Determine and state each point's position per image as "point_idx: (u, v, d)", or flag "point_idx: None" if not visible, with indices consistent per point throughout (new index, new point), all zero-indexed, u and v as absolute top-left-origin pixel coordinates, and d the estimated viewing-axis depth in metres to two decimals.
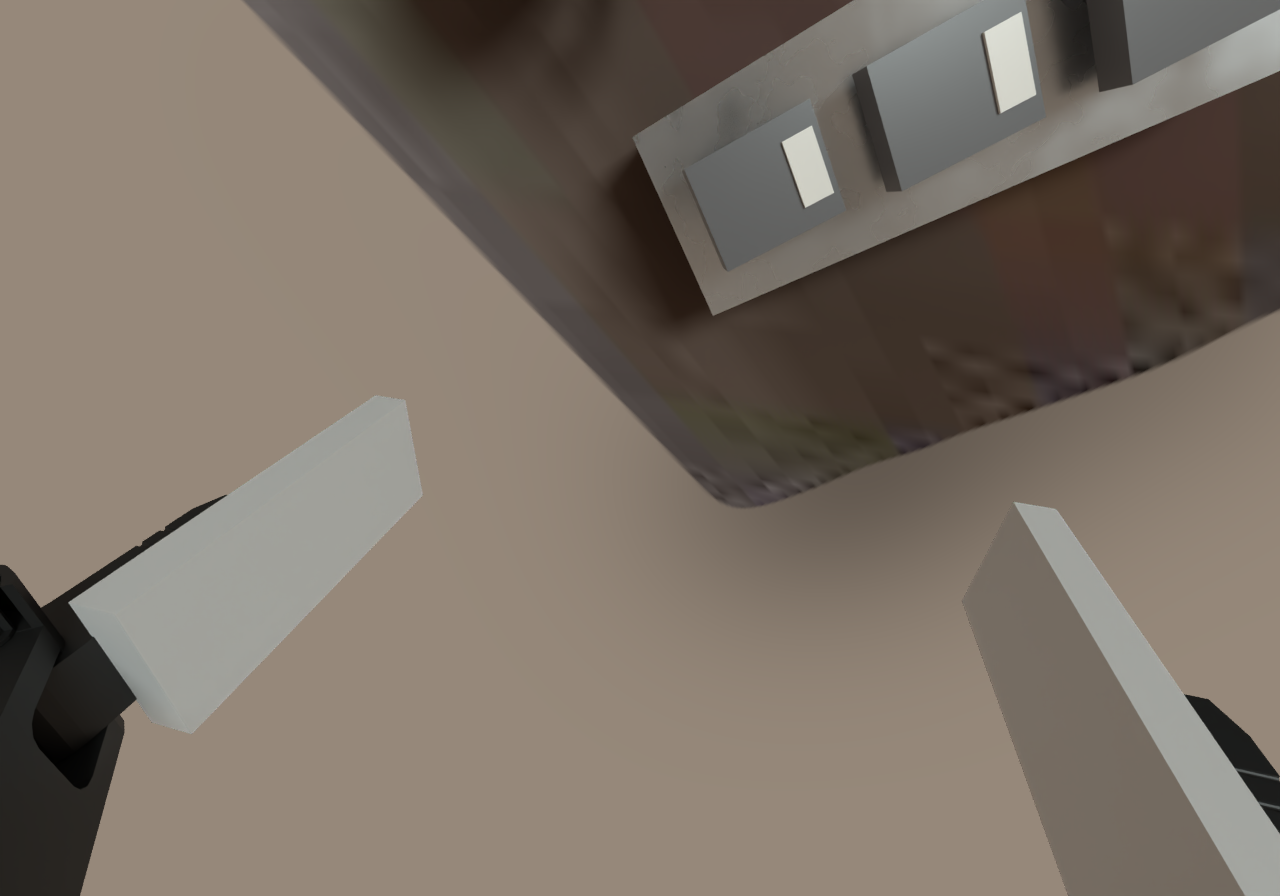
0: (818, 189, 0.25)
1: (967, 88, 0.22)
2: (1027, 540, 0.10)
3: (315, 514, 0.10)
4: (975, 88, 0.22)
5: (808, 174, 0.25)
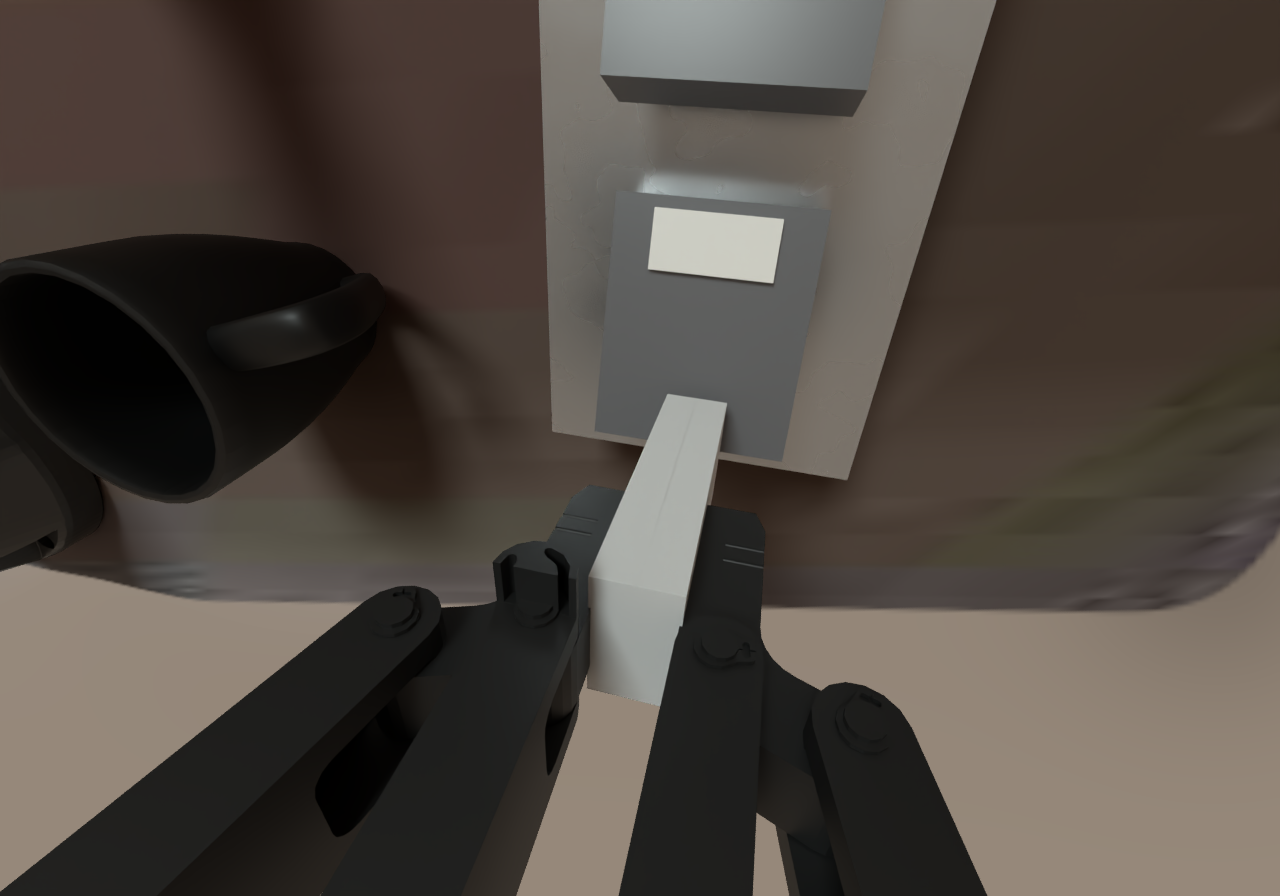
0: (759, 245, 0.13)
1: None
2: (690, 422, 0.13)
3: None
4: None
5: (724, 250, 0.13)
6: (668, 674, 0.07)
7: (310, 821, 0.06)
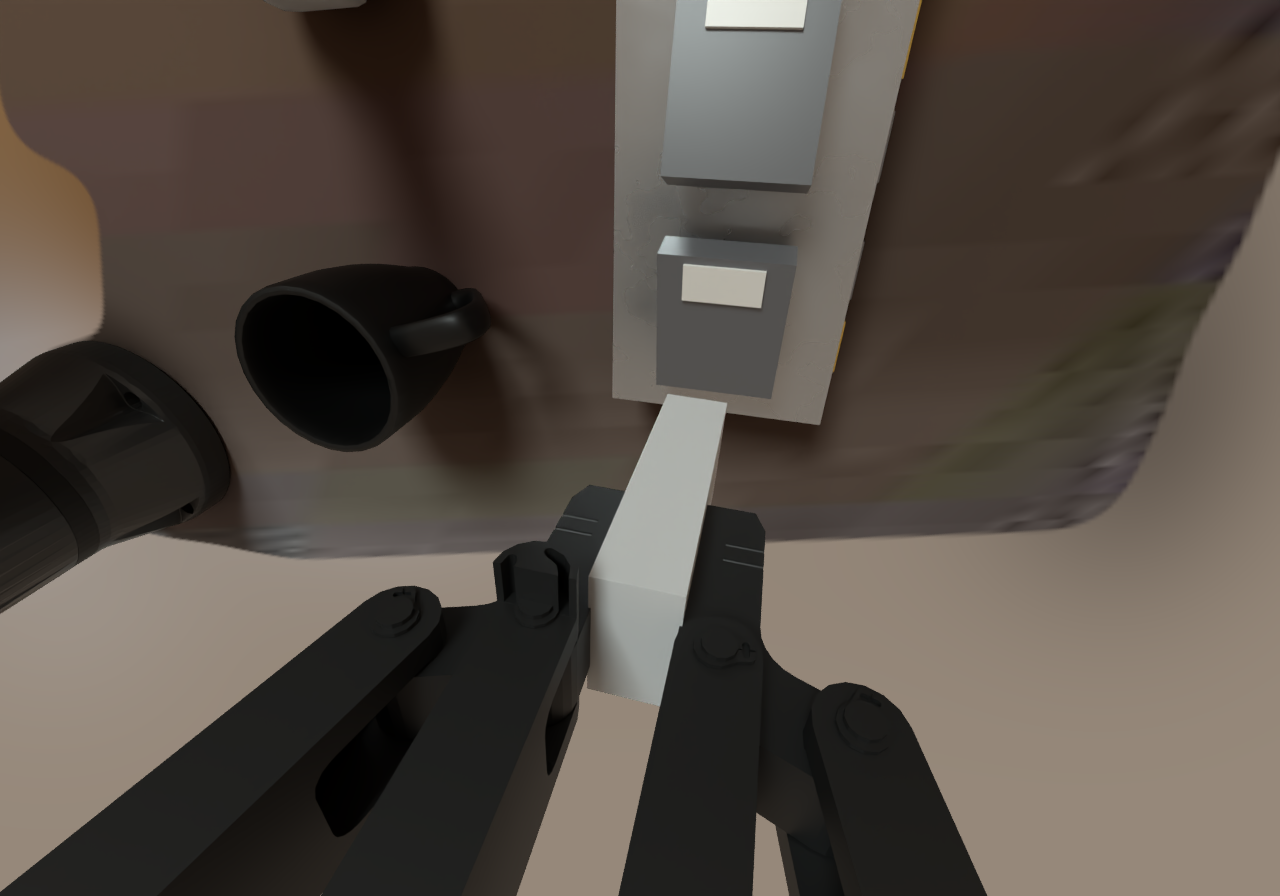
0: (751, 287, 0.20)
1: (750, 63, 0.17)
2: (690, 422, 0.13)
3: None
4: (756, 53, 0.17)
5: (729, 289, 0.20)
6: (668, 674, 0.07)
7: (311, 822, 0.06)
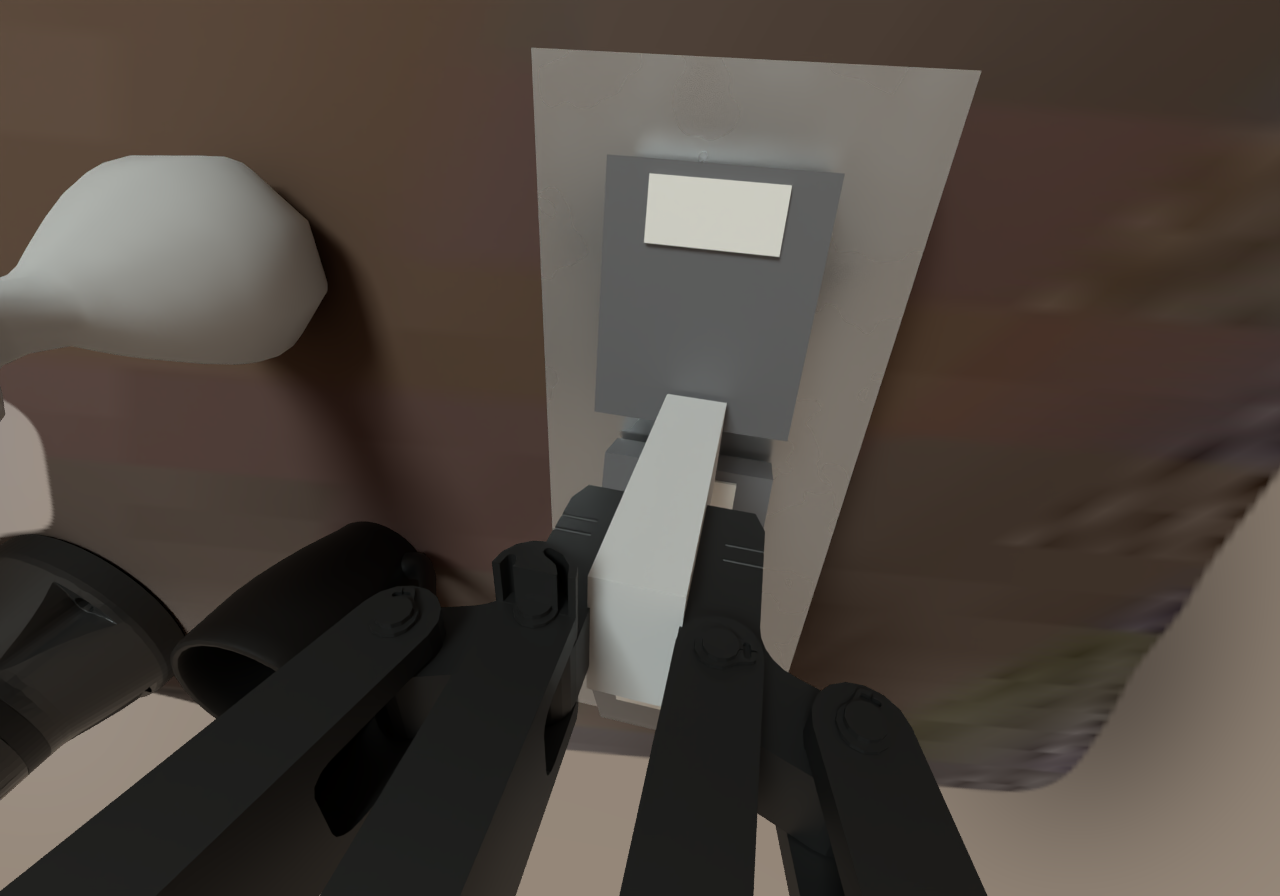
0: None
1: None
2: (690, 422, 0.13)
3: None
4: None
5: None
6: (669, 674, 0.07)
7: (310, 823, 0.06)
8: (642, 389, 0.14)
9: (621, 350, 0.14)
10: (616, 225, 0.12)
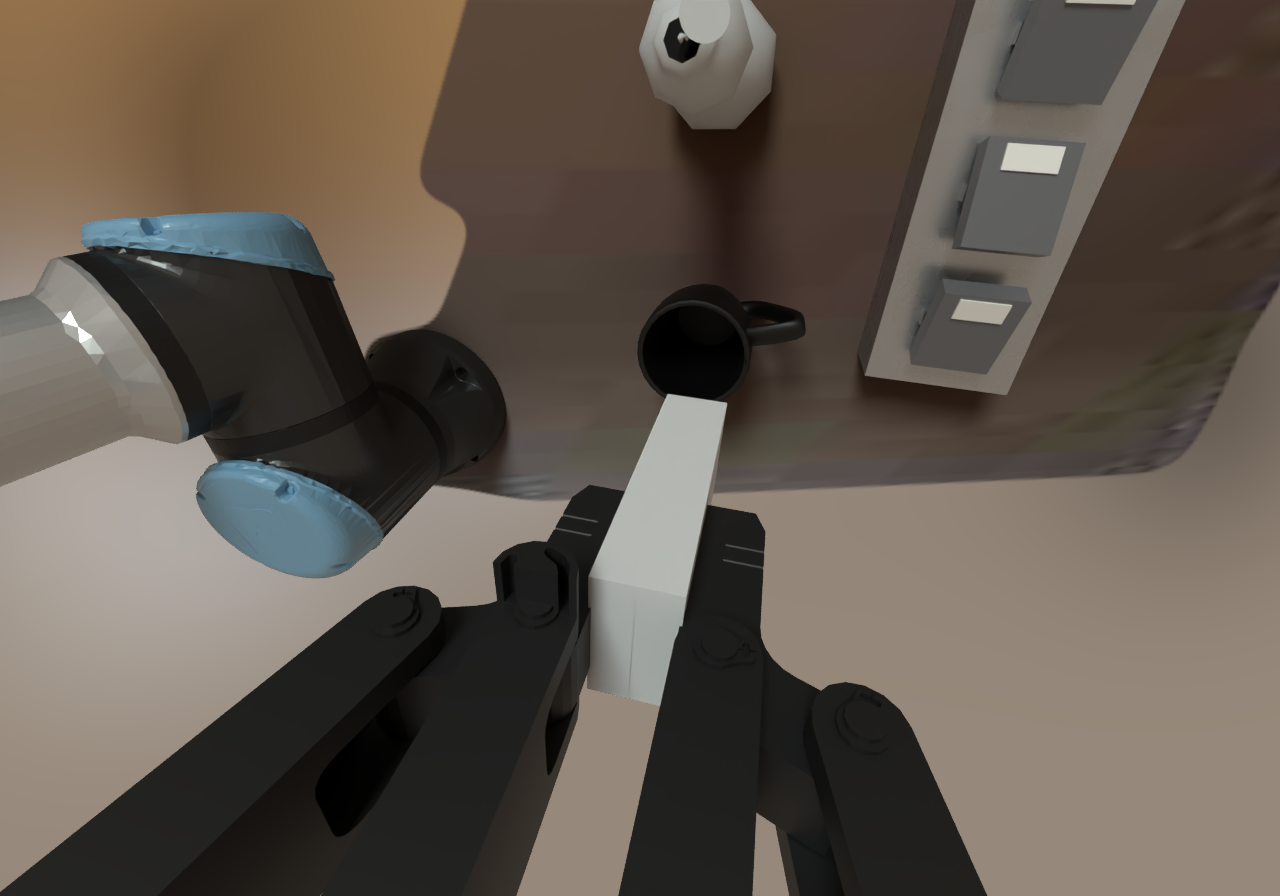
0: (999, 313, 0.35)
1: (1023, 190, 0.32)
2: (690, 422, 0.13)
3: None
4: (1028, 184, 0.32)
5: (984, 314, 0.35)
6: (668, 674, 0.07)
7: (311, 822, 0.06)
8: (1033, 84, 0.30)
9: (1030, 63, 0.29)
10: None
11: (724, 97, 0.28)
